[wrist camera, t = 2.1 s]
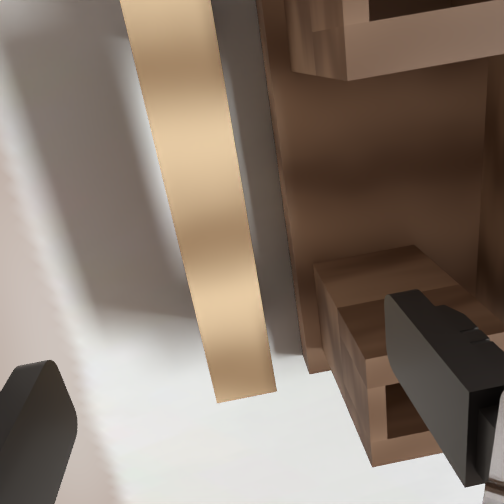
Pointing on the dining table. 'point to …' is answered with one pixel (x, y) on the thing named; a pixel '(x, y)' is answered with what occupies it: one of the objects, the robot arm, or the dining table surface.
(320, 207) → the wooden pen holder stand
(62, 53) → the dining table surface
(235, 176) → the oak rail
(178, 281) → the dining table surface
